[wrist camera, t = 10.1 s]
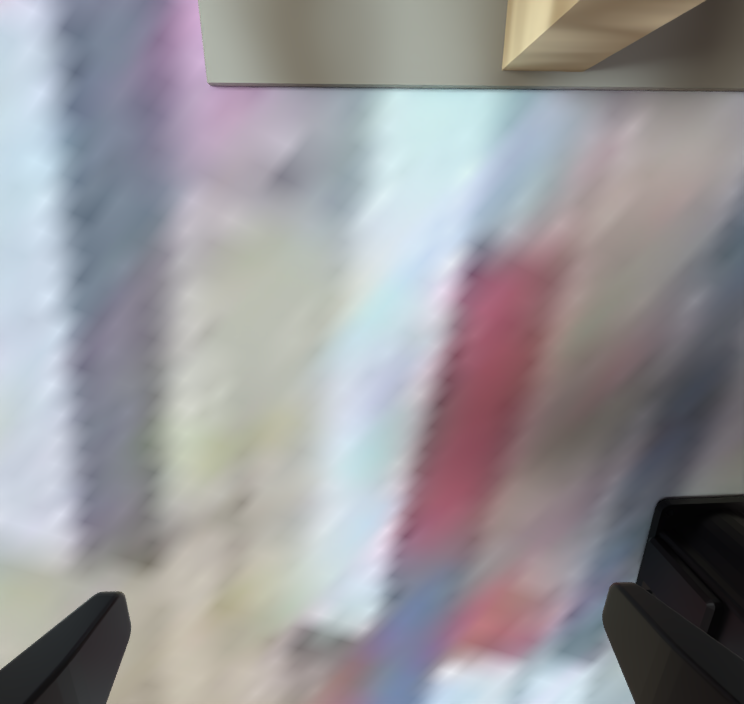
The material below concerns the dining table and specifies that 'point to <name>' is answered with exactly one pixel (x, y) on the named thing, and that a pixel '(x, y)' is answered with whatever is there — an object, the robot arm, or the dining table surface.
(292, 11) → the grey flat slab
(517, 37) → the birch plate
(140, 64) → the dining table surface
